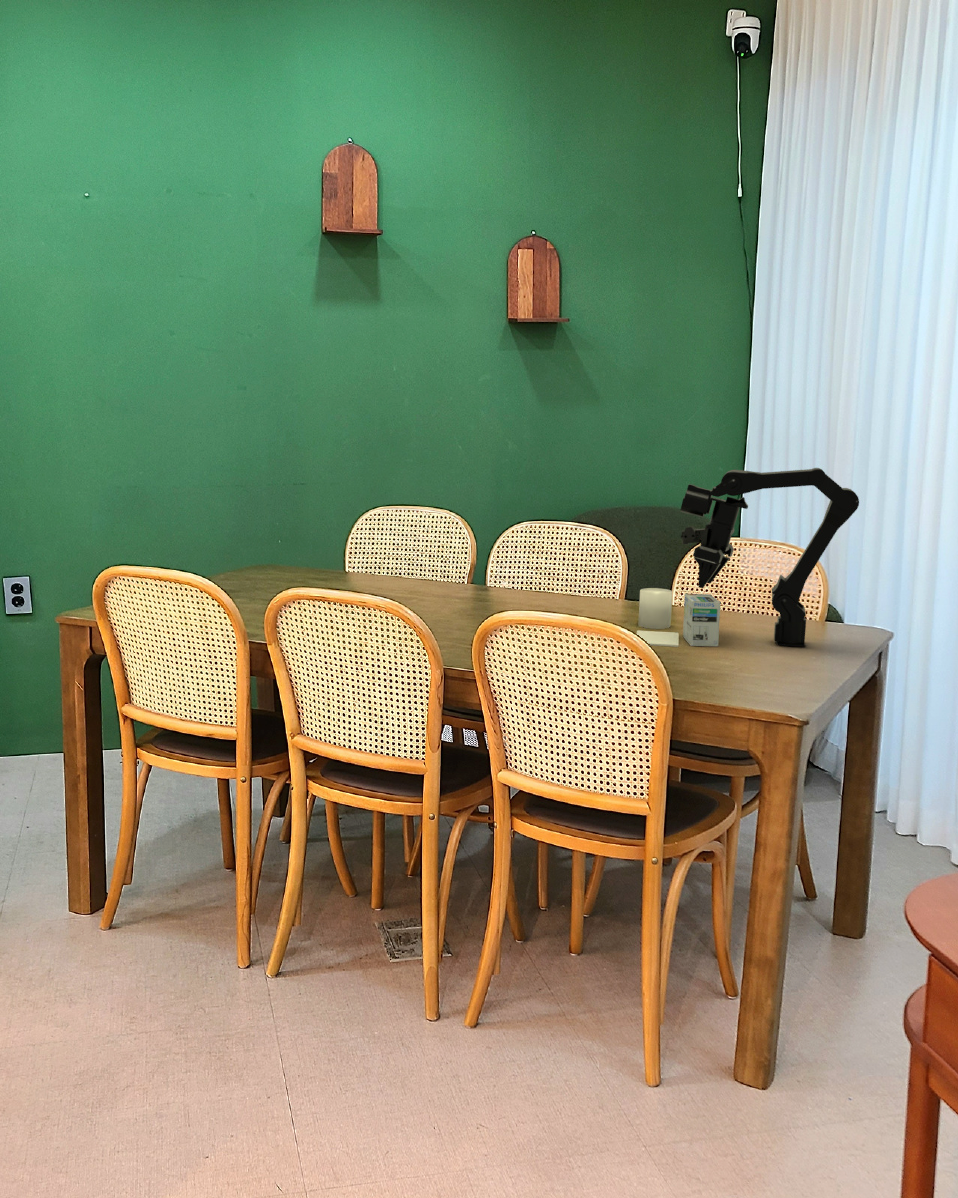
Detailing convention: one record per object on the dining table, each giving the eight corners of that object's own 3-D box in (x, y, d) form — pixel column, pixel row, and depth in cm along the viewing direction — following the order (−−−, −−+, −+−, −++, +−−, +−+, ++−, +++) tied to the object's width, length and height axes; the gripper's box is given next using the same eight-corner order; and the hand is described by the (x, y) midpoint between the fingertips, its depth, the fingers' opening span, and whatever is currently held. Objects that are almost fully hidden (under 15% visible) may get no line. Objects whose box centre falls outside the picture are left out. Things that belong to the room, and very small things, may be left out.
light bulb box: (718, 647, 255) (721, 601, 253) (690, 646, 255) (692, 601, 253) (709, 637, 265) (711, 593, 264) (681, 636, 265) (683, 592, 263)
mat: (678, 634, 268) (678, 632, 268) (678, 646, 254) (678, 645, 254) (637, 632, 269) (637, 630, 269) (634, 644, 256) (634, 642, 256)
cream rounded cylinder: (670, 623, 281) (672, 588, 279) (670, 630, 273) (672, 594, 271) (639, 621, 282) (640, 587, 280) (637, 628, 274) (639, 592, 273)
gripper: (697, 511, 270) (680, 571, 273) (681, 515, 253) (663, 580, 256) (741, 523, 266) (723, 584, 270) (728, 528, 249) (709, 594, 253)
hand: (704, 585), depth 262 cm, fingers open, 9 cm apart
